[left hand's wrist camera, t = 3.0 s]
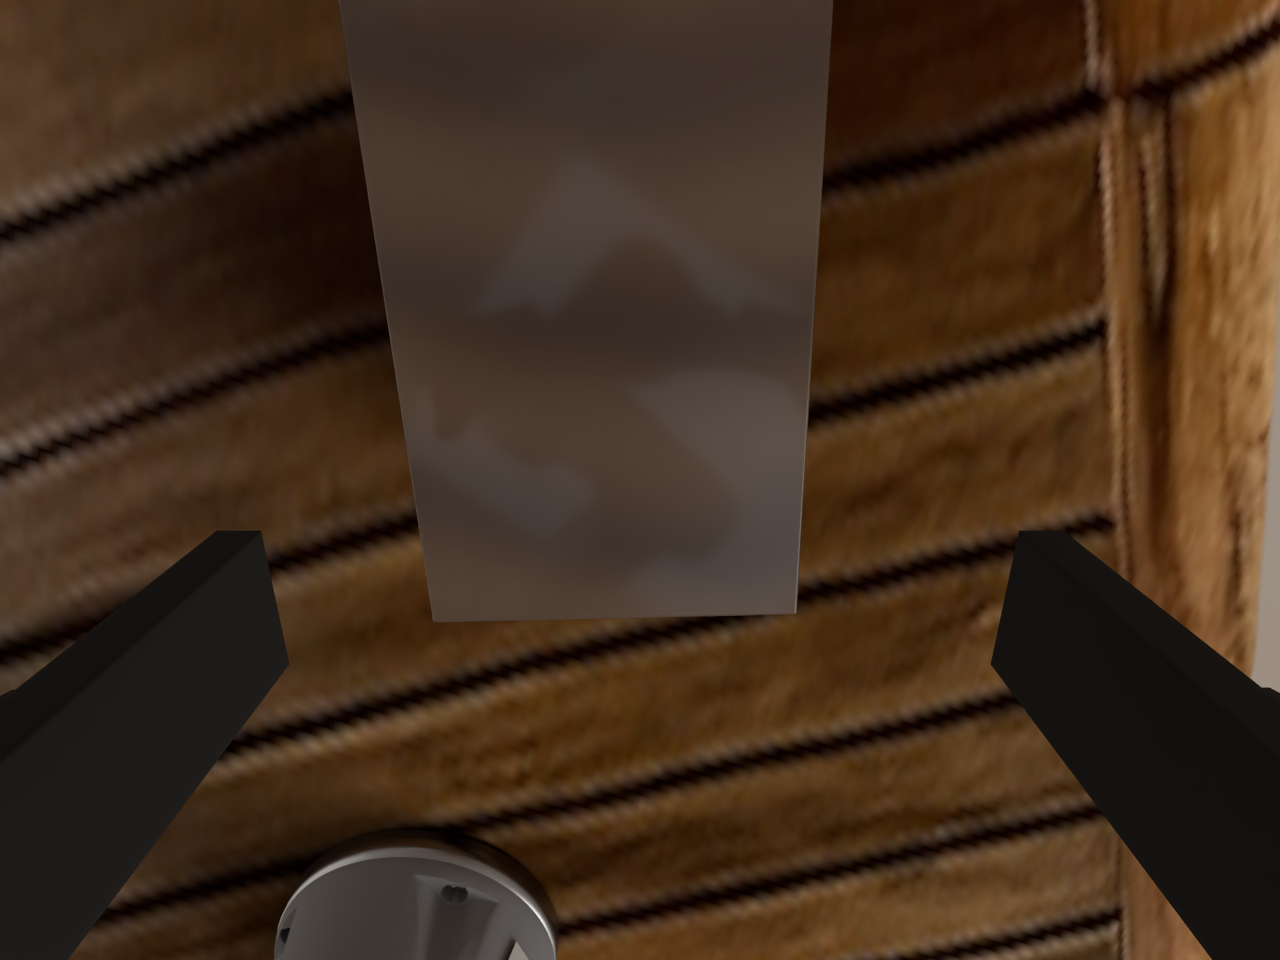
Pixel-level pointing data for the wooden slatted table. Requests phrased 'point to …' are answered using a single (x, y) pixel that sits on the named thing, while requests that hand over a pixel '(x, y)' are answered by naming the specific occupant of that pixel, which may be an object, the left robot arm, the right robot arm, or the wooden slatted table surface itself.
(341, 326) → the wooden slatted table surface
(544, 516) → the cabinet
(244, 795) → the wooden slatted table surface
